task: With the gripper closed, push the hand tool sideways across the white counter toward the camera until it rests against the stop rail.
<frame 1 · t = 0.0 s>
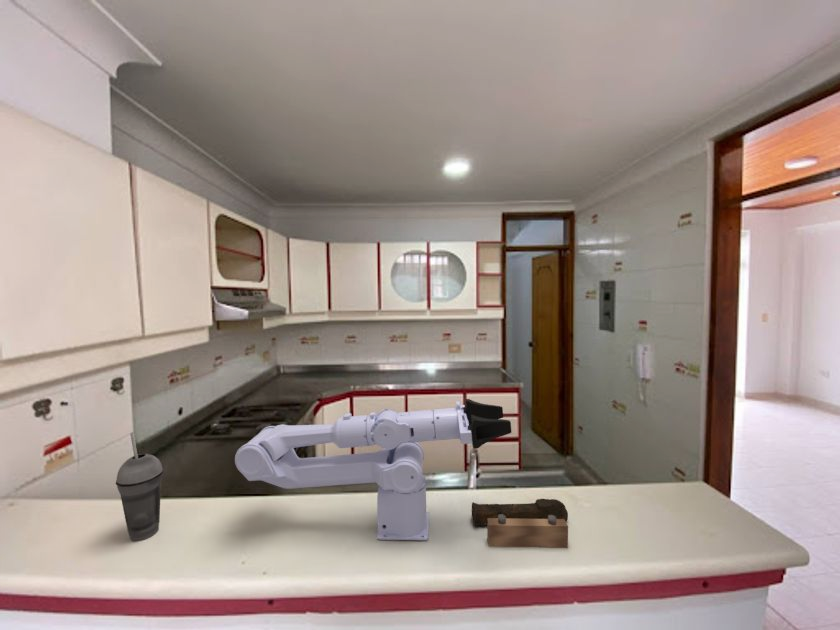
hand: (506, 418, 68), 22 cm above the counter, tool horizontal, fingers open, 7 cm apart
beverage cup: (144, 534, 69), on the counter
stop rail: (526, 543, 65), on the counter
hand tool: (518, 522, 72), on the counter
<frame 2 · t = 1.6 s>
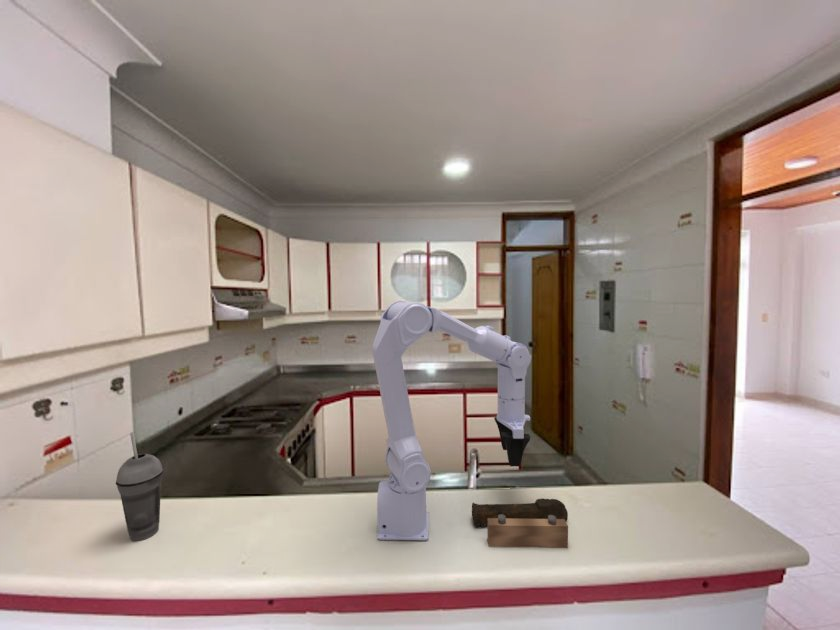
hand: (510, 457, 79), 9 cm above the counter, tool pointing down, fingers open, 7 cm apart
nothing on the counter moved.
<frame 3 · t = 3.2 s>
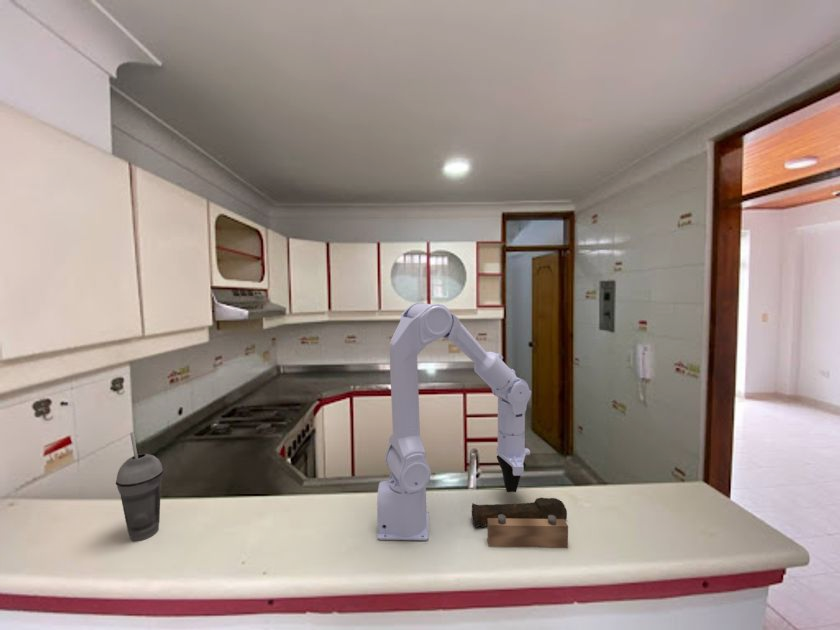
hand: (510, 490, 79), 2 cm above the counter, tool pointing down, fingers closed
nothing on the counter moved.
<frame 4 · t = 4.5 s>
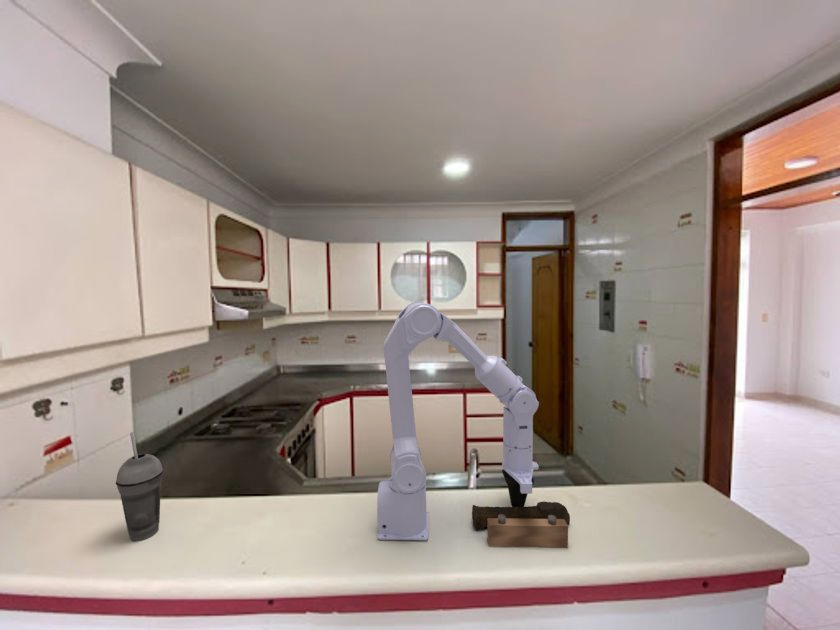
hand: (517, 507, 73), 2 cm above the counter, tool pointing down, fingers closed
hand tool: (519, 525, 71), on the counter
everything else where it was.
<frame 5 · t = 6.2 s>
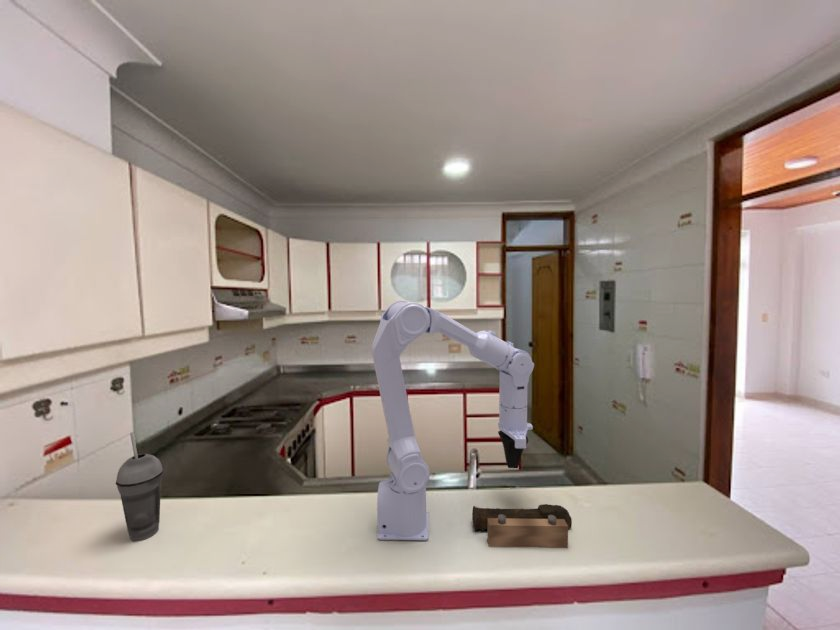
hand: (512, 466, 77), 8 cm above the counter, tool pointing down, fingers closed
nothing on the counter moved.
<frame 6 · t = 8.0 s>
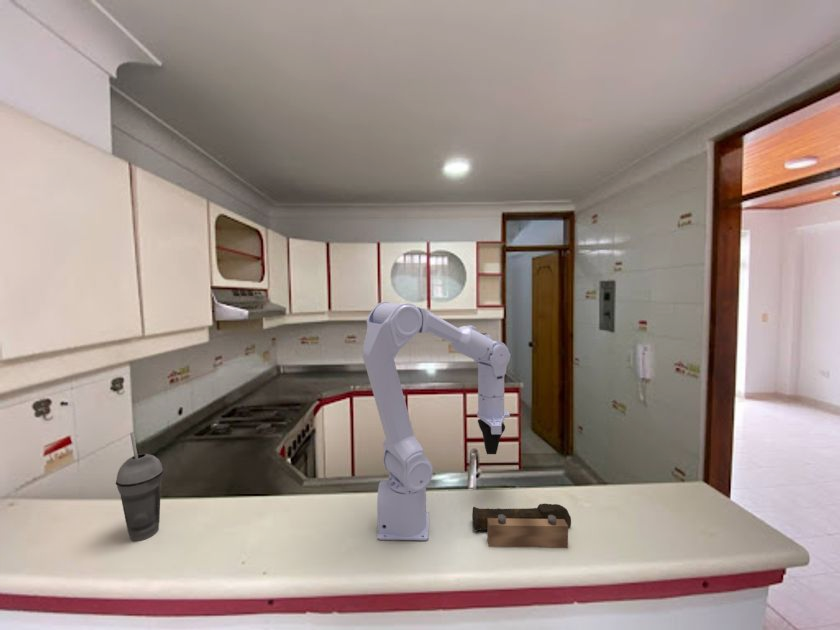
hand: (491, 452, 81), 9 cm above the counter, tool pointing down, fingers closed
nothing on the counter moved.
at the end: hand tool 1.4 cm from the target spot, on the counter; hand tool moved 1.7 cm from its start; hand tool tilted 1° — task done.
